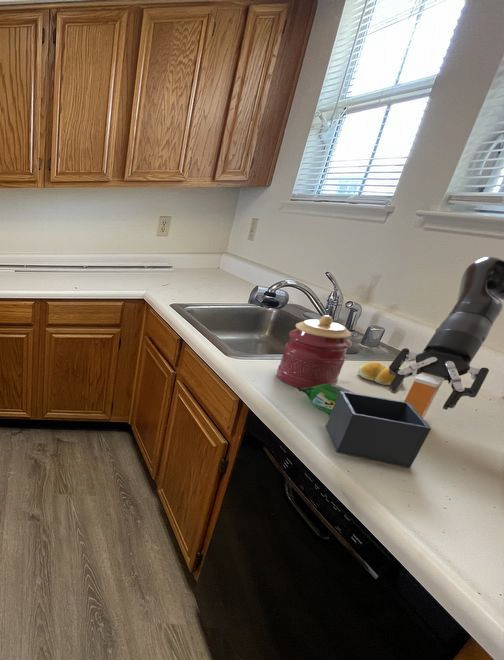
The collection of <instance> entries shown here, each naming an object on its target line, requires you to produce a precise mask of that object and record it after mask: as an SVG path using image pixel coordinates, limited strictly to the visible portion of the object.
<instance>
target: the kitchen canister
mask: <svg viewBox="0 0 504 660" xmlns="http://www.w3.org/2000/svg"><path fill="white" fill-rule="evenodd" d="M288 336H289V339H288V342H286V343H285V345H284V350H283V352H282V353H283V354H282V356H281V360H280V362H279V364H278V366H277V370H276V371H277V372H276V376H277V378H278V379H279V380H280V381H282V382H284V383H286V384H287V385H289V386H292V387H295V388H298V389H299V388H300V389H302V388H310V387H314V386H316V385H322V384H334V385H337V384H338V381H339V377H340V374H341V371H342V369H343V366H344V363H345V362H346V360H347V359H348V355H347V351H348V349H350V348H351V347H352V346H353V343H352V341H351V340H350V339H349V338H350V337H351V336H352V332H351V331H350V330H349V329H347V328H346V326H345V325H342V324H341V323H338V322H334V320H333V317H332V316H331V315H328V314H327V315H326V314H325V315H321V317H320V318H319V319H313V318H312V319H305V320H304V321H300V322H298V323H296V324H295V329H292V330H290V331H289V332H288Z"/></svg>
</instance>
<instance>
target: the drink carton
mask: <svg viewBox="0 0 504 660" xmlns="http://www.w3.org/2000/svg"><path fill="white" fill-rule="evenodd" d="M444 379H445V378H442V377H438V376H434V375H431V374H427V373H423V372H422V373H421V374H419V375H416V376H415V377H414V379H413V382H412V385H411V387H410V389H409V391H408V392H407V395H406V397H405V399H404V401H403V402H409V403H410V404H411V405H412V406H413V407H414V409H415V410H416V411H417V412H418V413H419V415H420V416H421V417H422V418H423V419H425V416H426V414H427V413H428V411H429V409H430V406H431V405H432V402H433V401H434V399H435V397H436V395H437V393H438V392H439V389H440V388H441V386H442V384H443V382H444V381H445V380H444Z"/></svg>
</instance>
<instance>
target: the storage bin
mask: <svg viewBox="0 0 504 660" xmlns="http://www.w3.org/2000/svg"><path fill="white" fill-rule="evenodd" d="M355 393H356V392H354V393H349V392H343V391H340V392H339V394H338V397H337V399H336V402H335V404H334V407H333V409H332V412H331V414H330V413H329V417H328V419H327V421H326V424H325V428H326V431H327V433H328V435H329V437H330V440H331V443H332V445H333V448H334V450H335V452H336V453H339V454H343V455H347V456H352V457H357V458H362V459H366V460H370V461H376V462H381V463H385V464H389V465H394V466H399V467H403V468H408V469H410V468H411V467H412V465H413V463H414V461H415V460H416V458H417V456H418V454H419V453H420V451H421V448H422V447H423V445H424V443H425V441H426V439H428V438H427V437H428V435H429V434H430V432H431V430H432V427H431V426H430V425H429V423H427V422H426V420H425V418H422V417H421V416H420V415H419V413H418V412H417V411H416V410H415V409H414V407H413V406H412V405H411V404H410V403H409V402H404V401H403V400H396V399H390V398H384V397H379V396H373V395H366V394H361V393H356V394H355Z"/></svg>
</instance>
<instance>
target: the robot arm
mask: <svg viewBox="0 0 504 660" xmlns="http://www.w3.org/2000/svg"><path fill="white" fill-rule="evenodd" d="M502 301H504V259H503V258H499V257H498V256H484V257H481V258H479V259H476V260H474V261H473V262H472V263H470V265H468V266H467V268H466V269H465V270H464V272H463V273H462V276H461V279H460V283H459V290H458V294H457V299H456V303H455V304H454V306H453V308H452V309H451V310H450V312H449V313H448V315H447V317H446V318H445V319H444V320H443V321H442V322H441V323H440V324H439V326H438V327H436V329H435V332H434V334H433V335H432V337H431V338H430V340H429V341H428V343H427V344H426V346H425V347H424V349H423V350H422V351H421V352H419V353H417V352H413V351H410V348H407V347H405V348H402V349H401V351H400V352H399V353H398V354H397V356H396V357H395V358H394V360H393V361H392V362H391V364H390V365H389V366H388V367H389V374H393V375H394V376H395V378H394V379H393V381H392V383H391V384H390V385H389V390H390V393H392V394H394V395H396V393H398V390H399V389H400V387H401V386H402V385H403V383H404V381H405V379H408V378H410V377H412V378H413V377H417V376H419V375H420V374H421V373H422V372H423V373H427V374H431V375H434V376H438V377H442V378H445V379H444V381H447V383H448V385H449V387H450V388H451V390H452V391H451V393H450V394H449V396H448V398H446V401H445V403H444V404H443V406H442V409H443V410H446V411H447V410H448V409H453V408H455V407H456V406H457V404H458V402H459V401H460V399H461V398H462V397H469V398H476V397H477V396H478V394H479V392H480V389H481V387H482V386H483V384H484V382H485V380H486V378H487V376H488V374H489V371H490V369H489V368H488V367H480V368H477V367H474V366H473V367H472V366H471V363H472V361H473V359H474V358H475V356H476V355H477V353H478V352H479V350H480V349H481V347H482V346H483V344H484V343H485V341H486V339H487V338H488V336H489V334H490V331H491V329H492V327H493V325H495V322H496V321H497V320H498V318H499V316H500V315H501V313H502V312H503V309H504V304H503V302H502ZM411 360H415V363H413V364H410V365H409V366H407V367H405V368H401V367H402V365H403V364H404V363H405V362H409V361H411ZM466 374H470V378H471V379H472V380H473V382H472V384H471V386H470V387H465V386H464V384H463V382H462V378H461V376H463V375H466Z"/></svg>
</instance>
